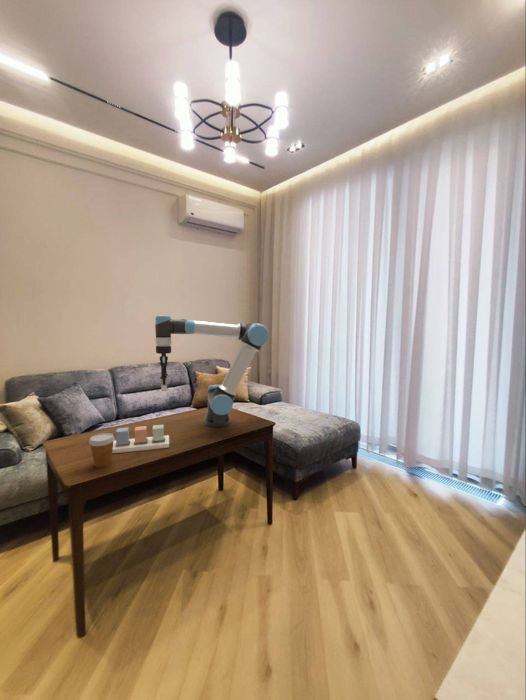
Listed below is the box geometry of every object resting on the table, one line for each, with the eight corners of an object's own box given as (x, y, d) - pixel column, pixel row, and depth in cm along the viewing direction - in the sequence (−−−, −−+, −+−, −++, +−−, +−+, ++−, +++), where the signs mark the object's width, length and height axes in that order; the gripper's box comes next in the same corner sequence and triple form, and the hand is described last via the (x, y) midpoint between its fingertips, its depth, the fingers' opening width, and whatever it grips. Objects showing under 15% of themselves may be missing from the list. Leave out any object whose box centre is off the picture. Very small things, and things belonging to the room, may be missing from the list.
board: (168, 438, 156) (168, 435, 156) (169, 447, 146) (169, 443, 145) (113, 444, 148) (113, 440, 148) (109, 454, 138) (109, 449, 137)
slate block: (129, 439, 147) (128, 427, 147) (128, 443, 142) (127, 431, 142) (117, 440, 146) (117, 428, 145) (116, 444, 141) (115, 432, 140)
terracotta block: (146, 437, 150) (146, 425, 149) (146, 441, 145) (145, 429, 144) (135, 438, 148) (135, 426, 147) (134, 442, 143) (134, 430, 143)
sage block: (163, 435, 152) (163, 424, 151) (163, 439, 147) (163, 427, 147) (153, 436, 151) (152, 425, 150) (152, 440, 146) (152, 428, 145)
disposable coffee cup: (96, 459, 133) (95, 432, 131) (118, 458, 133) (118, 432, 132) (85, 470, 123) (84, 441, 122) (109, 469, 124) (108, 441, 123)
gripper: (156, 343, 163) (157, 385, 166) (155, 347, 145) (156, 394, 148) (170, 343, 166) (171, 385, 168) (171, 347, 148) (172, 393, 150)
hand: (164, 389), depth 158 cm, fingers open, 6 cm apart
